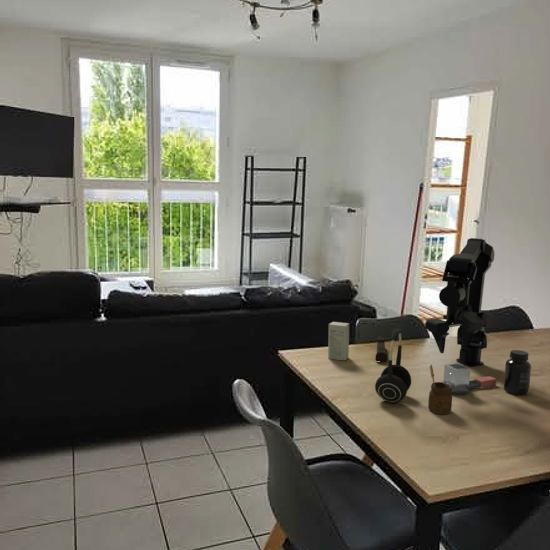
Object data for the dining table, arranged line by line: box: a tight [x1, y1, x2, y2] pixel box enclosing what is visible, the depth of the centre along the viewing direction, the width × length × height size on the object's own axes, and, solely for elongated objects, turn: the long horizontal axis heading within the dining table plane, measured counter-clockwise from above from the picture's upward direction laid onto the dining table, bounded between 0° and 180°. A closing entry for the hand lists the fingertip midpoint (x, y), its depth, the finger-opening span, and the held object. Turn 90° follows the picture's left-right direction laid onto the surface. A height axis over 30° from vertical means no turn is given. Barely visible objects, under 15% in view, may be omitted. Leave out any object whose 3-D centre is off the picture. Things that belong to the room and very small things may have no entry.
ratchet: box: [442, 375, 497, 396], centre depth 155 cm, size 18×7×5 cm, turn 114°
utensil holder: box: [427, 364, 454, 415], centre depth 138 cm, size 6×6×12 cm
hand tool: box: [374, 335, 389, 363], centre depth 184 cm, size 19×4×5 cm, turn 167°
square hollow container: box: [443, 362, 471, 387], centre depth 152 cm, size 5×5×5 cm
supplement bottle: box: [503, 349, 532, 396], centre depth 152 cm, size 7×7×12 cm
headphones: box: [374, 328, 412, 403], centre depth 145 cm, size 9×15×20 cm, turn 157°
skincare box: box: [327, 321, 350, 361], centre depth 178 cm, size 6×4×12 cm
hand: (453, 351), depth 155 cm, fingers open, 9 cm apart
